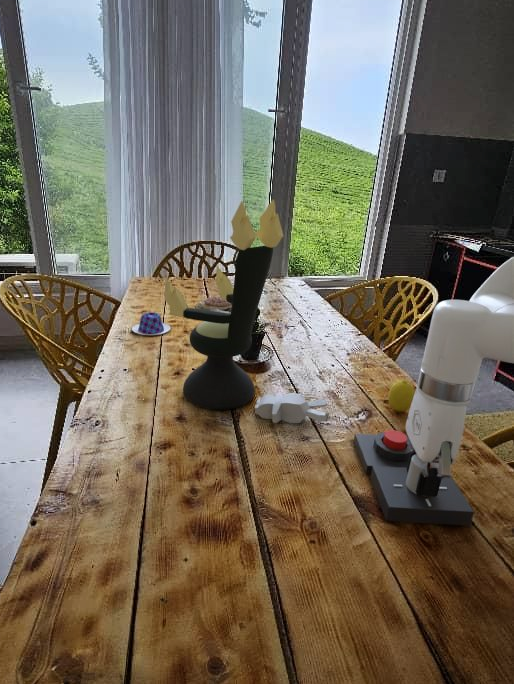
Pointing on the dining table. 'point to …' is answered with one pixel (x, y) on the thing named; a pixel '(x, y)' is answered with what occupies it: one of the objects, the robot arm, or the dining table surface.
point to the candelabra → (229, 317)
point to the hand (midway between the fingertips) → (421, 482)
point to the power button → (395, 439)
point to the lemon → (401, 395)
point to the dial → (416, 472)
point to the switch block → (380, 452)
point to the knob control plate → (418, 499)
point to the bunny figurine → (289, 408)
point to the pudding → (151, 325)
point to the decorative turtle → (214, 304)
